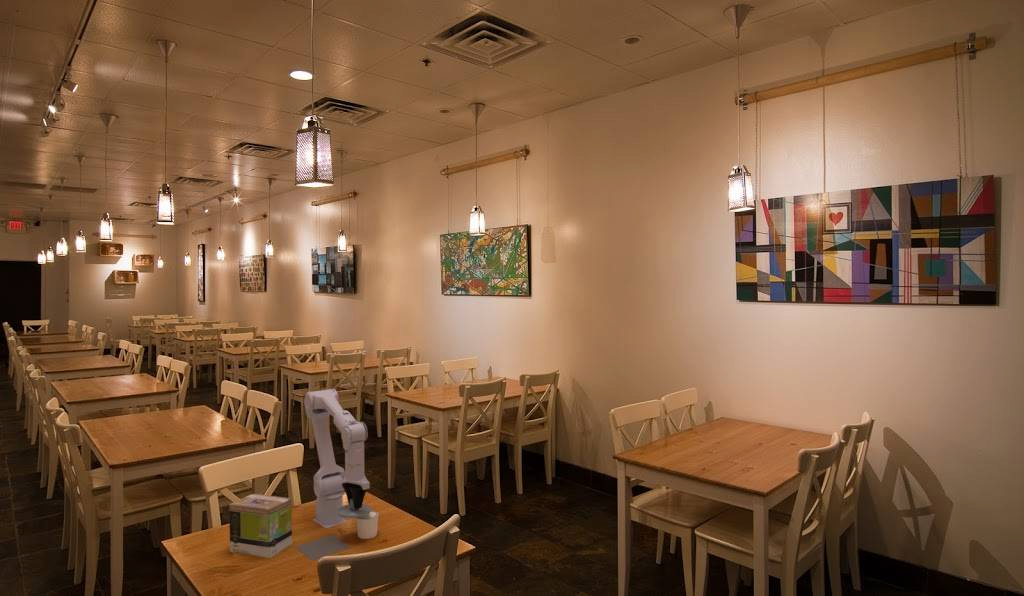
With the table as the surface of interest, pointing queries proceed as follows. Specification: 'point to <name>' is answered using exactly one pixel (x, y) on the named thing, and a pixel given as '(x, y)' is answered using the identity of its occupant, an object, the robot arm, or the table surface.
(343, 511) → the lid
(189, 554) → the table surface
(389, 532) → the table surface
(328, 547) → the mat
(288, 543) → the tea box
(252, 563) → the table surface
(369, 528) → the white cylinder
